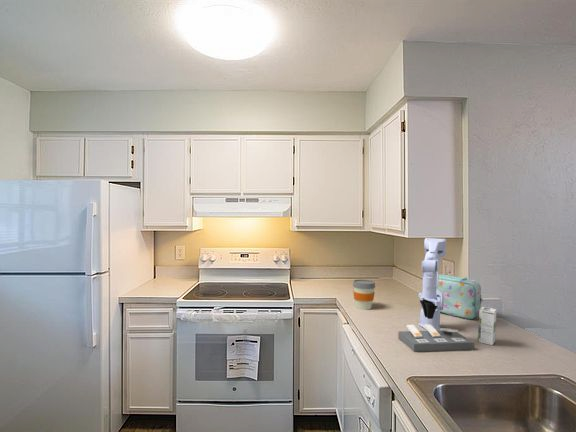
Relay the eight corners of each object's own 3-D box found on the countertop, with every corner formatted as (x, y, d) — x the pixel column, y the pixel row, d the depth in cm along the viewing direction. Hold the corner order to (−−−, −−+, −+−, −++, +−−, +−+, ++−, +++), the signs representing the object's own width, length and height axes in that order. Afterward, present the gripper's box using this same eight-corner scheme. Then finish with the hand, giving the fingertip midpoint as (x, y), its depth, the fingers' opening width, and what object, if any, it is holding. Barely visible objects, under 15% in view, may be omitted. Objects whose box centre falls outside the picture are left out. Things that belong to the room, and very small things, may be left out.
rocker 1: (406, 326, 147) (406, 324, 147) (413, 326, 148) (413, 324, 147) (415, 337, 140) (415, 335, 139) (422, 337, 140) (422, 335, 140)
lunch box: (484, 318, 178) (485, 278, 177) (477, 322, 171) (479, 280, 170) (433, 307, 197) (434, 270, 197) (426, 310, 190) (427, 272, 190)
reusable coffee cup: (373, 311, 186) (374, 284, 186) (351, 309, 190) (351, 282, 190) (375, 305, 198) (376, 280, 197) (354, 303, 202) (354, 278, 201)
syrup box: (480, 338, 149) (481, 306, 149) (495, 342, 145) (496, 308, 145) (477, 342, 145) (478, 308, 145) (493, 345, 141) (494, 311, 141)
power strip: (398, 338, 148) (398, 329, 147) (453, 336, 151) (453, 328, 151) (414, 351, 134) (414, 342, 134) (474, 349, 137) (474, 340, 137)
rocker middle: (423, 326, 148) (423, 324, 148) (430, 325, 149) (430, 324, 148) (433, 337, 141) (433, 335, 140) (440, 337, 141) (440, 335, 141)
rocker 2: (440, 330, 149) (440, 328, 149) (447, 330, 150) (447, 328, 150) (451, 332, 141) (451, 329, 142) (458, 331, 142) (458, 329, 142)
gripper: (412, 283, 154) (411, 312, 154) (429, 291, 139) (429, 323, 140) (427, 283, 155) (426, 312, 155) (445, 290, 140) (444, 323, 140)
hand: (428, 317), depth 147 cm, fingers closed
